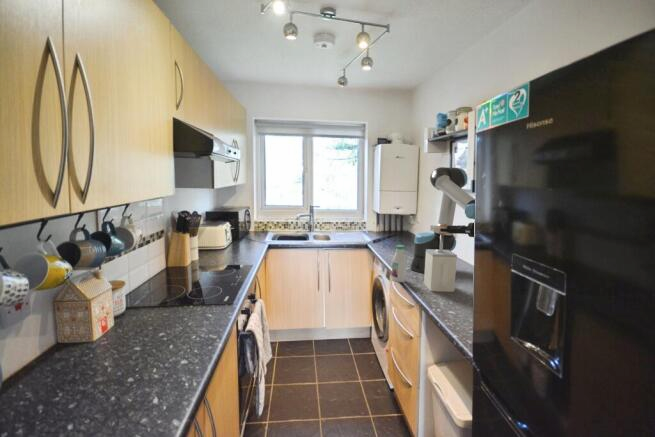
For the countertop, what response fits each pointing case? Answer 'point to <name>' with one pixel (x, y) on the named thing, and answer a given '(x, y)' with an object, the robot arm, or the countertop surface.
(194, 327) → the countertop surface
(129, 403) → the countertop surface
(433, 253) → the beige rectangular box
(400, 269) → the milk bottle
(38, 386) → the countertop surface
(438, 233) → the plunger
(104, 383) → the countertop surface
